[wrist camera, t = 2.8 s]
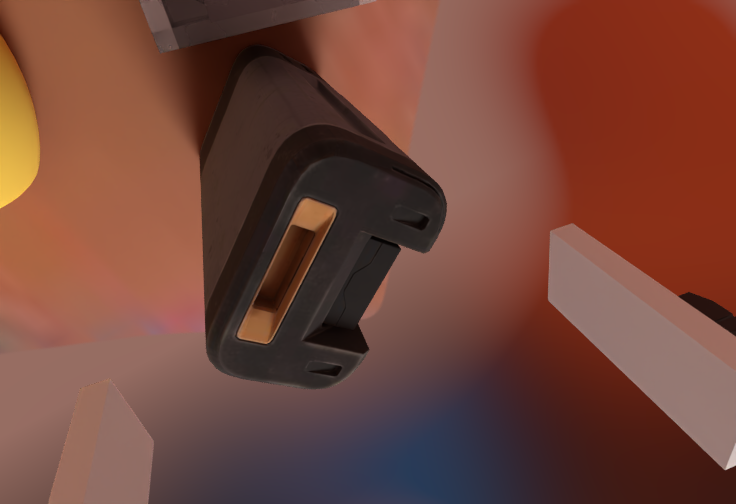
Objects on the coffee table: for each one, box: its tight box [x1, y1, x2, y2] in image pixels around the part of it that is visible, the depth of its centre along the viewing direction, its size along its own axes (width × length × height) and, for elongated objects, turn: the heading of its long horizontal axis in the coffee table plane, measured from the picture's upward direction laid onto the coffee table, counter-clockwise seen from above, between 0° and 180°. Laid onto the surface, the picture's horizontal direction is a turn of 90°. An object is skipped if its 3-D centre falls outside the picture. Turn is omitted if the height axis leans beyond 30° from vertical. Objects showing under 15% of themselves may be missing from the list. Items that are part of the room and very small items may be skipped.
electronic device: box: [200, 45, 447, 389], centre depth 24 cm, size 9×6×20 cm, turn 151°
